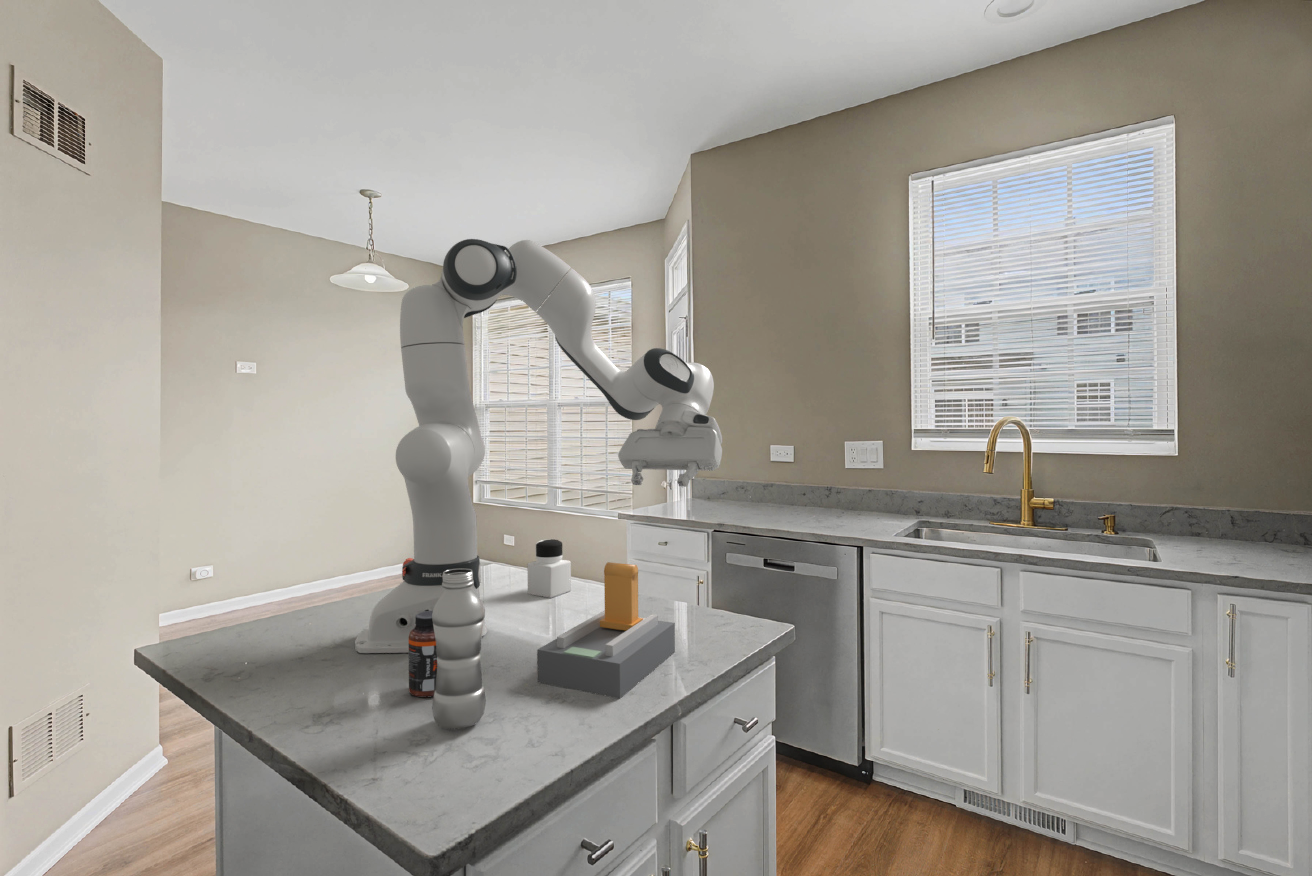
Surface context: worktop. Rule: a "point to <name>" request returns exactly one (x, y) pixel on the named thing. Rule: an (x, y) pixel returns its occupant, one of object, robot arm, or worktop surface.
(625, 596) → the handle
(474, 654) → the plastic bottle
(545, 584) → the medicine bottle
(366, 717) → the worktop surface
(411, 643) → the supplement bottle
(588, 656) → the breaker box
